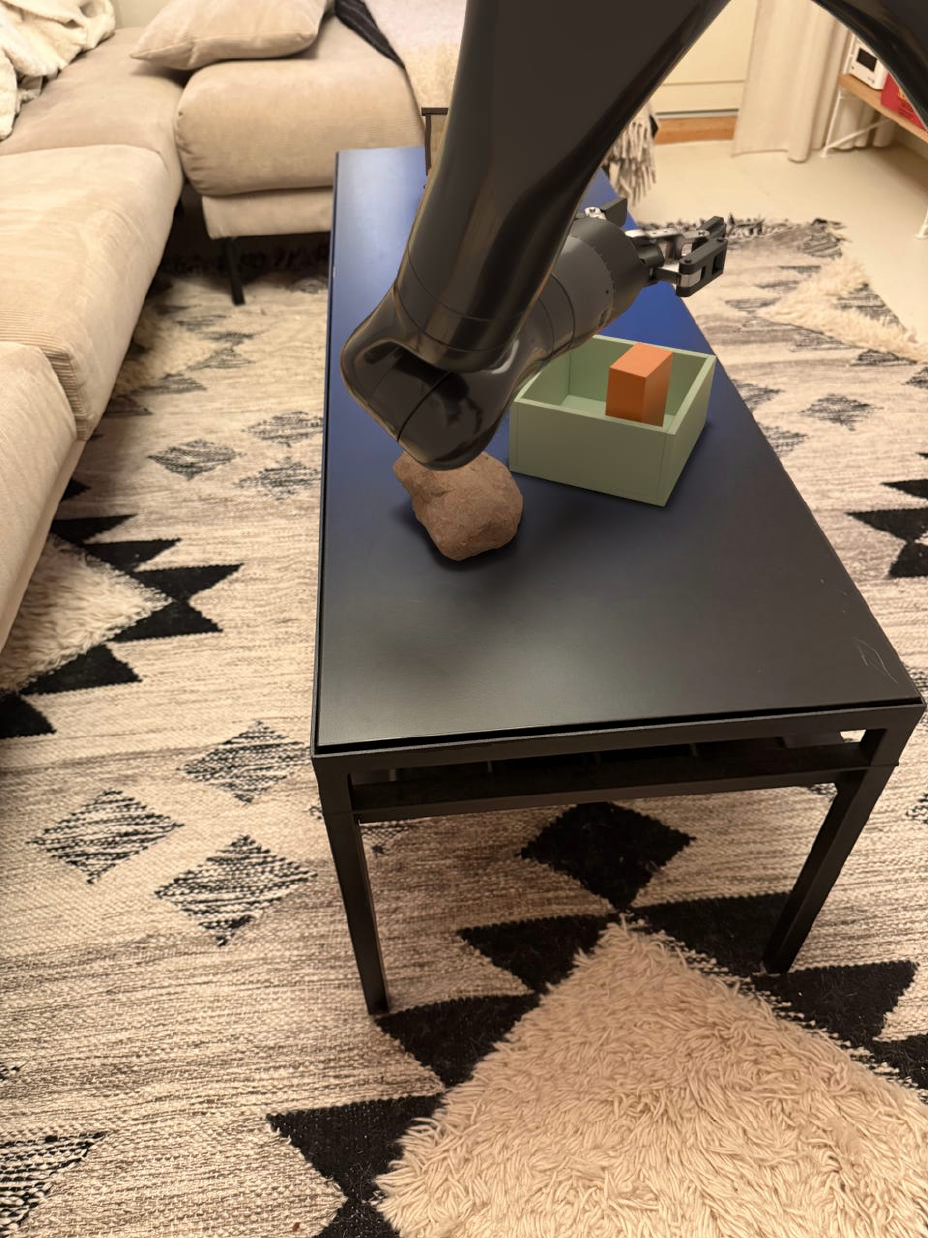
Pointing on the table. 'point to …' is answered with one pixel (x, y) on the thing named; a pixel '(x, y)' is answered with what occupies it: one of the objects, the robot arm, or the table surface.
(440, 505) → the stone
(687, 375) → the bin
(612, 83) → the robot arm
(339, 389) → the table surface
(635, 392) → the block
